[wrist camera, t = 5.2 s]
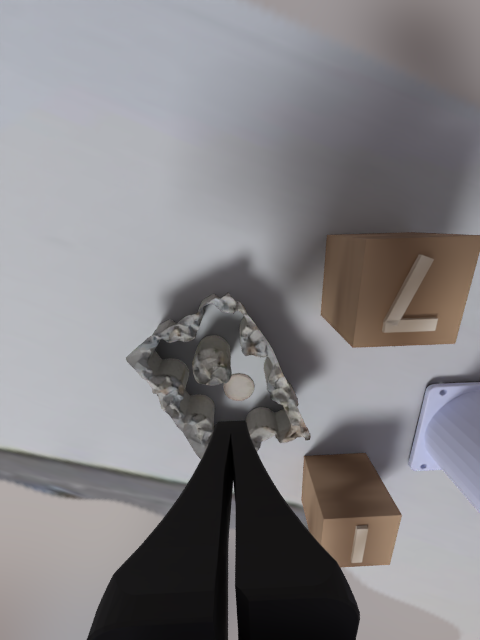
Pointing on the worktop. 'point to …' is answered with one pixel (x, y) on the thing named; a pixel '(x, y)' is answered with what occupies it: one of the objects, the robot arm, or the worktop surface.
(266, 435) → the egg carton
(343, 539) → the numbered block one
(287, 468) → the worktop surface
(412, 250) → the numbered block seven
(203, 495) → the robot arm
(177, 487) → the worktop surface
